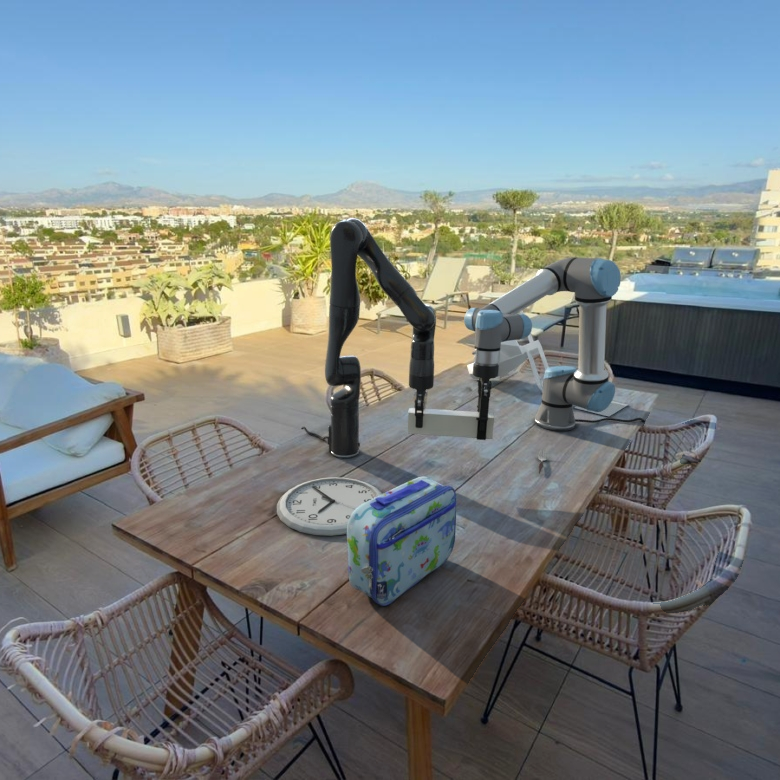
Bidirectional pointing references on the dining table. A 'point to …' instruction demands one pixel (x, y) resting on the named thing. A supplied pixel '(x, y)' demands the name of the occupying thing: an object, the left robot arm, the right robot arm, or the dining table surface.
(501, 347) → the white plastic object
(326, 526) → the wall clock
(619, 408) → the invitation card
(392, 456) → the dining table surface
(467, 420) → the beam
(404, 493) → the lunch box
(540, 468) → the fork
